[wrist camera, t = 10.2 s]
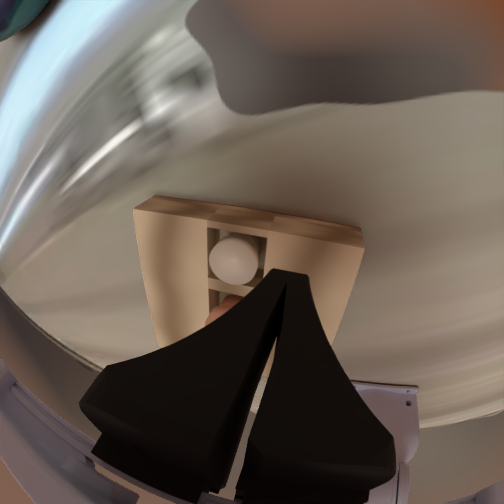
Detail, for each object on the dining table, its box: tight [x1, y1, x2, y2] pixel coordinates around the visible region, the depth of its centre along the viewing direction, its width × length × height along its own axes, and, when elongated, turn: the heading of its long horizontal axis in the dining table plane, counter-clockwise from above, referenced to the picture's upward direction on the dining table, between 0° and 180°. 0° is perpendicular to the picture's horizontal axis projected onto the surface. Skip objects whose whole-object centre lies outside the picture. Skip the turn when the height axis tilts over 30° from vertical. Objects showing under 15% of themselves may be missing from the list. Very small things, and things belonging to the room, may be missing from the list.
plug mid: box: [205, 295, 243, 326], centre depth 20 cm, size 3×3×3 cm
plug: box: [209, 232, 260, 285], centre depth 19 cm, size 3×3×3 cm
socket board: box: [133, 196, 365, 378], centre depth 22 cm, size 16×15×3 cm
